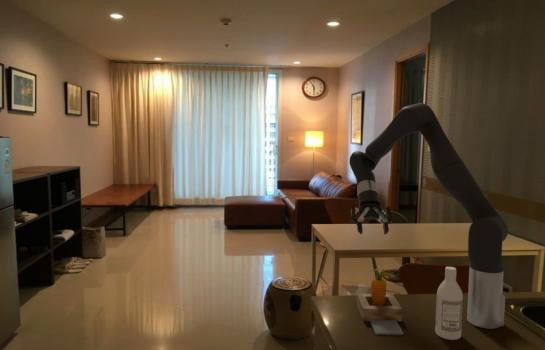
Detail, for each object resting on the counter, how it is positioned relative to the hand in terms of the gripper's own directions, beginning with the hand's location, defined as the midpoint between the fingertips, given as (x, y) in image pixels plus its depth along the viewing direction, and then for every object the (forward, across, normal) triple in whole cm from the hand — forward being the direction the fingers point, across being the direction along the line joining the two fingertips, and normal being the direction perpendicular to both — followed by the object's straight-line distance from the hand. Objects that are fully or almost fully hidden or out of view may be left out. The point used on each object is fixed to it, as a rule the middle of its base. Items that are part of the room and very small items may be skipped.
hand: (373, 233), depth 141 cm
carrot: (+25, 0, +9) cm, 26 cm away
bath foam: (+35, +17, -1) cm, 38 cm away
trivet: (+32, 0, +1) cm, 32 cm away
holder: (+25, 0, +9) cm, 26 cm away
